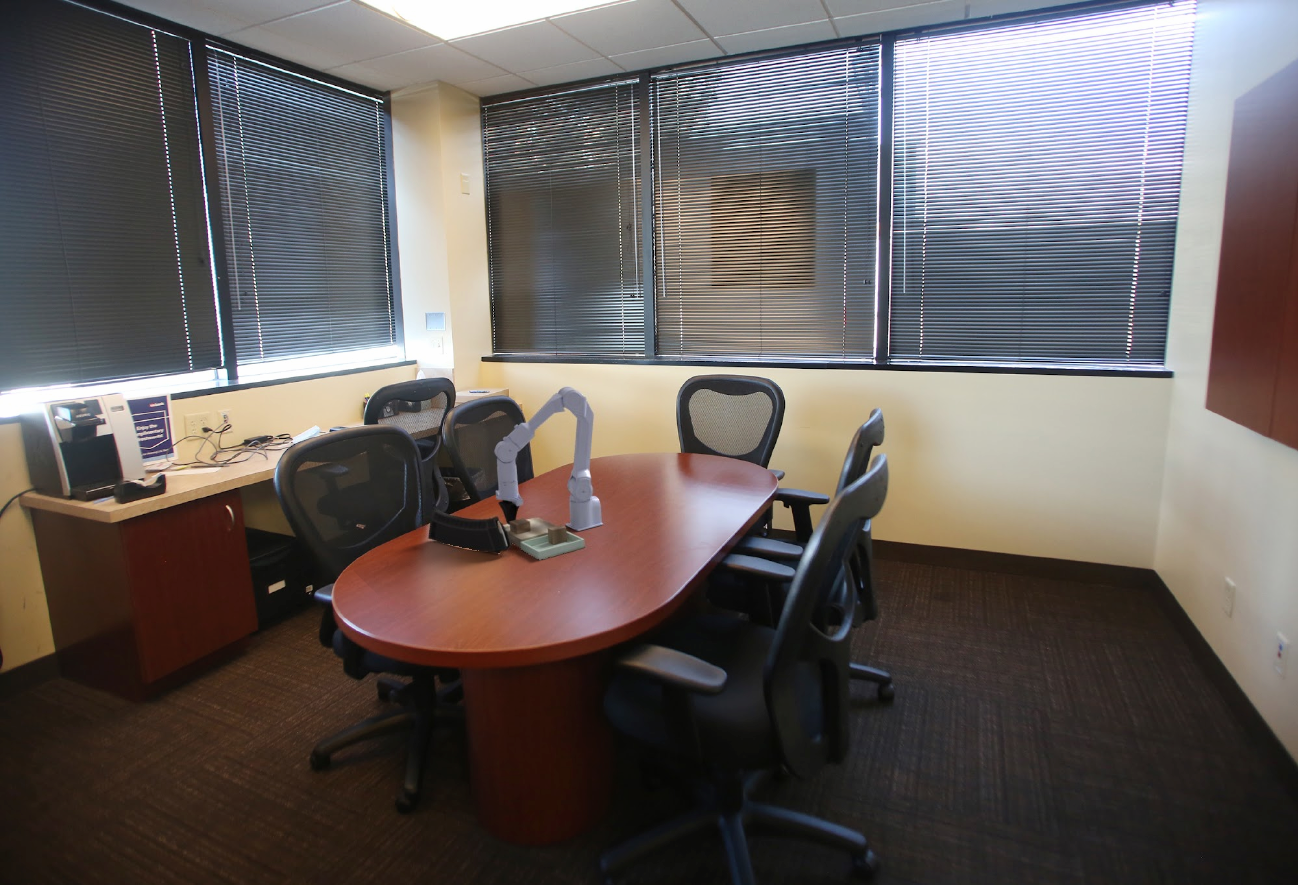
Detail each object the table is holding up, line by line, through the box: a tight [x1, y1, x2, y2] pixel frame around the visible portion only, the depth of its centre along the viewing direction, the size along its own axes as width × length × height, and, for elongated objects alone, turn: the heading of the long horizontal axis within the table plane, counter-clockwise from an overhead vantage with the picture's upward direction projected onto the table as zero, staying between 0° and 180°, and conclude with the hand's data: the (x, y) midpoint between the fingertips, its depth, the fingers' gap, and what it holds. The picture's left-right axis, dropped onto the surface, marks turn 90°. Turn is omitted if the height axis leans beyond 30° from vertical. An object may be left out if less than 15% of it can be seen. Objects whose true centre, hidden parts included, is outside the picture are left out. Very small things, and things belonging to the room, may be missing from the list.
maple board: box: [503, 516, 556, 549], centre depth 216 cm, size 14×16×3 cm
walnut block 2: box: [548, 524, 568, 545], centre depth 209 cm, size 4×4×3 cm
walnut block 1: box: [510, 517, 531, 535], centre depth 213 cm, size 4×4×3 cm
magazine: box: [427, 508, 513, 554], centre depth 208 cm, size 17×3×30 cm
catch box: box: [520, 530, 586, 561], centre depth 205 cm, size 15×11×2 cm
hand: (511, 523), depth 218 cm, fingers closed
